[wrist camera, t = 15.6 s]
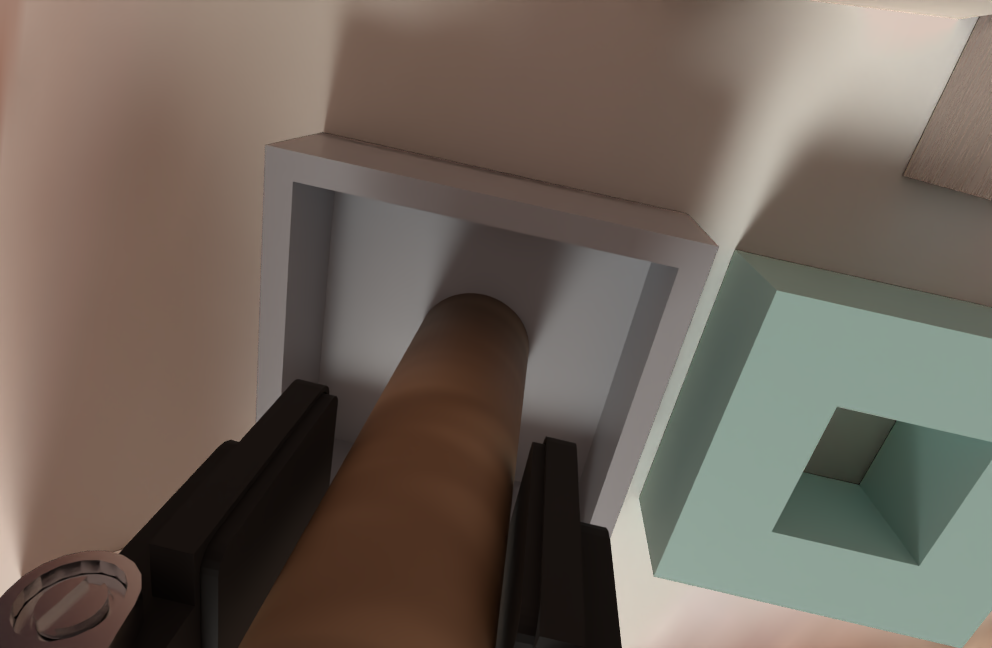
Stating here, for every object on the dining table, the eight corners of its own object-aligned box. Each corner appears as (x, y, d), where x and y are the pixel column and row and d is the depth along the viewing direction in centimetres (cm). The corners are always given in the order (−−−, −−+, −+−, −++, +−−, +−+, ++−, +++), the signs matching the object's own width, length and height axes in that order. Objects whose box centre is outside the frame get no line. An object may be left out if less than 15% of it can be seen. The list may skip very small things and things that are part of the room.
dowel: (539, 306, 15) (509, 670, 6) (516, 403, 16) (460, 835, 7) (426, 282, 15) (214, 605, 6) (412, 381, 16) (218, 778, 7)
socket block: (1054, 321, 14) (1174, 379, 11) (898, 558, 17) (962, 648, 15) (735, 249, 14) (777, 290, 11) (639, 498, 17) (653, 576, 15)
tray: (687, 213, 14) (719, 246, 11) (589, 502, 18) (594, 580, 15) (322, 132, 14) (265, 144, 11) (300, 436, 18) (253, 500, 15)
